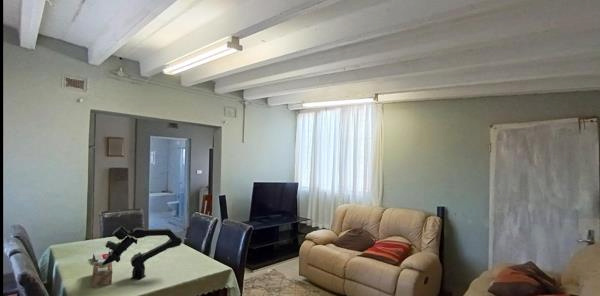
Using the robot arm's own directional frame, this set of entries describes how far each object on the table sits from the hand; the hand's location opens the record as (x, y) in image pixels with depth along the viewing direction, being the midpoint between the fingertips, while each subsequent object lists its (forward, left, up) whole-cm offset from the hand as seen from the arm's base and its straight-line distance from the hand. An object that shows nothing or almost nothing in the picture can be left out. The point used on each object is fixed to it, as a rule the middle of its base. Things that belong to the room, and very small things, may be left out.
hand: (102, 264), depth 199 cm
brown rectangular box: (+4, -4, -11) cm, 12 cm away
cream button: (0, 0, -6) cm, 6 cm away
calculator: (+29, -35, -11) cm, 46 cm away
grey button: (+7, -8, -4) cm, 12 cm away
